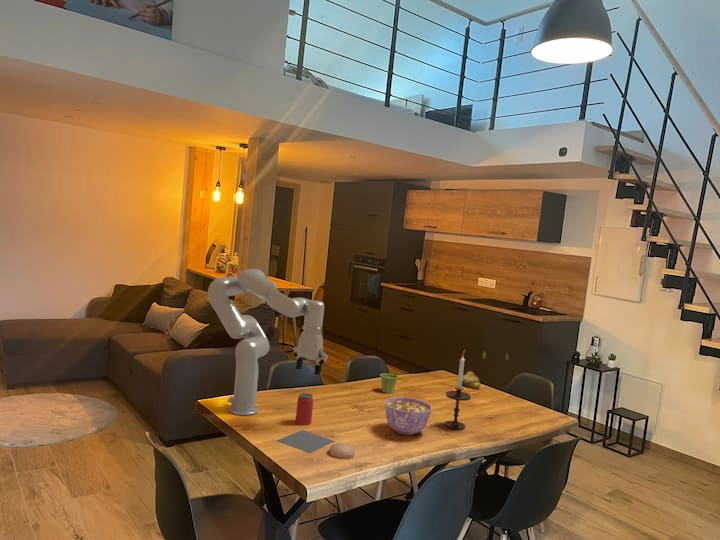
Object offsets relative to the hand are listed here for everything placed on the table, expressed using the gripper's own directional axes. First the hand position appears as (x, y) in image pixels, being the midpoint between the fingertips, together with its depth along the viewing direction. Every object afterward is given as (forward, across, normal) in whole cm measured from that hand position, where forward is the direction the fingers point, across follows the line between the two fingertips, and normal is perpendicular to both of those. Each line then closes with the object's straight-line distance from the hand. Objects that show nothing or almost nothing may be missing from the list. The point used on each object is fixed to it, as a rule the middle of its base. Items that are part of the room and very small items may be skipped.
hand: (308, 371), depth 220 cm
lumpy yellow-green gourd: (+22, +27, +122) cm, 127 cm away
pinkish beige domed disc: (+22, +29, -14) cm, 39 cm away
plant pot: (+22, 0, +71) cm, 75 cm away
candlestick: (+22, +48, +49) cm, 72 cm away
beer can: (+22, 0, 0) cm, 22 cm away
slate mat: (+22, +13, -15) cm, 29 cm away
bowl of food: (+22, +35, +26) cm, 48 cm away
